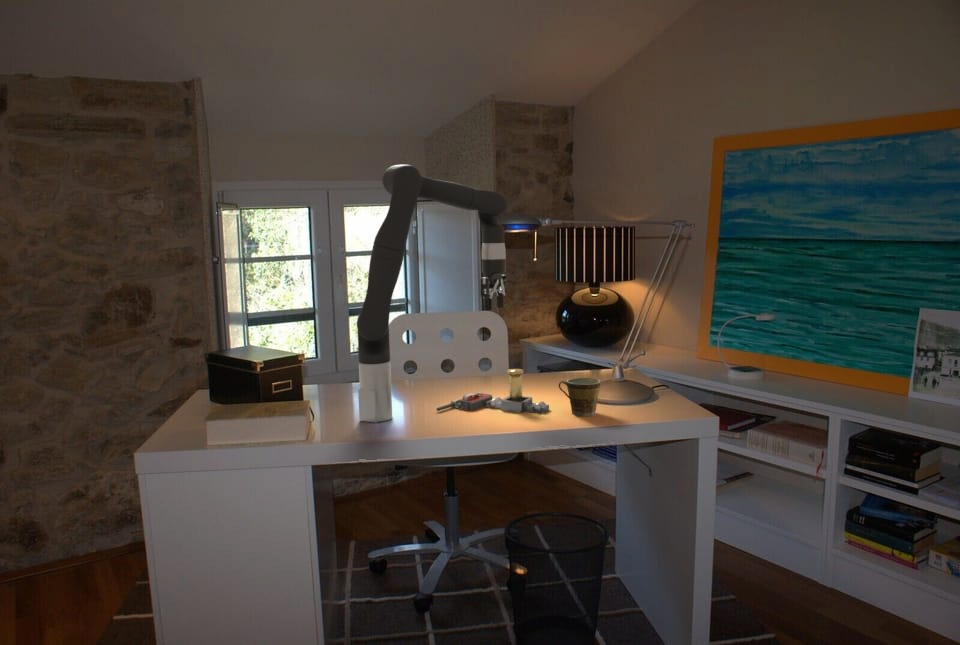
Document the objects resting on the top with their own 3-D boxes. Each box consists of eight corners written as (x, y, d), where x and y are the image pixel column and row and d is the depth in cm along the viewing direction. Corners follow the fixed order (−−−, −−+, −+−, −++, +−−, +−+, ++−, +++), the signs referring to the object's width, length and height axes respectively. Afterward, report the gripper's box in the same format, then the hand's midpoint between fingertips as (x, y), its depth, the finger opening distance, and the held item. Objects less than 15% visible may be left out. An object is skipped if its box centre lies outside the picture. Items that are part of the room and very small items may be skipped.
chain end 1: (505, 409, 225) (505, 401, 225) (485, 407, 229) (485, 399, 228) (512, 405, 229) (511, 398, 229) (492, 403, 233) (492, 396, 232)
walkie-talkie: (475, 400, 240) (434, 413, 224) (474, 387, 239) (434, 399, 223) (496, 403, 234) (456, 417, 219) (496, 390, 234) (456, 403, 218)
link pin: (519, 410, 223) (519, 372, 221) (505, 409, 225) (505, 371, 224) (526, 407, 227) (525, 369, 226) (512, 405, 229) (511, 368, 228)
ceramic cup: (605, 411, 220) (605, 379, 218) (593, 419, 211) (592, 385, 210) (565, 407, 226) (565, 375, 225) (552, 414, 218) (551, 381, 217)
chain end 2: (541, 414, 218) (541, 404, 218) (499, 410, 224) (499, 400, 224) (551, 408, 225) (551, 399, 225) (510, 404, 231) (510, 395, 231)
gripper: (494, 258, 221) (495, 312, 223) (514, 256, 233) (515, 307, 235) (472, 258, 224) (473, 311, 226) (493, 256, 237) (494, 306, 239)
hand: (494, 309), depth 231 cm, fingers open, 8 cm apart
